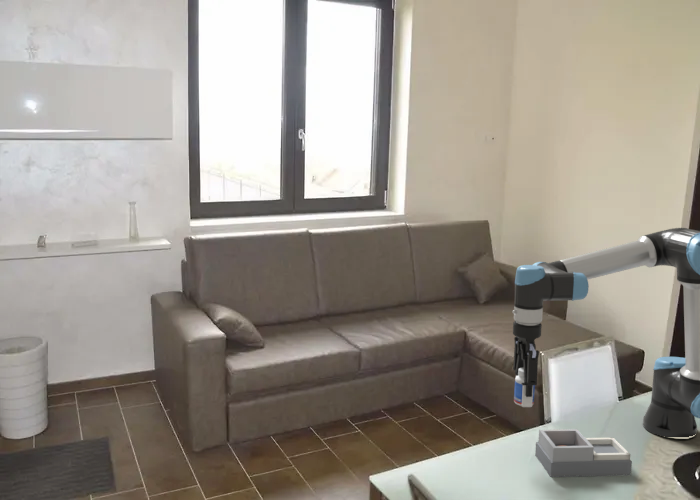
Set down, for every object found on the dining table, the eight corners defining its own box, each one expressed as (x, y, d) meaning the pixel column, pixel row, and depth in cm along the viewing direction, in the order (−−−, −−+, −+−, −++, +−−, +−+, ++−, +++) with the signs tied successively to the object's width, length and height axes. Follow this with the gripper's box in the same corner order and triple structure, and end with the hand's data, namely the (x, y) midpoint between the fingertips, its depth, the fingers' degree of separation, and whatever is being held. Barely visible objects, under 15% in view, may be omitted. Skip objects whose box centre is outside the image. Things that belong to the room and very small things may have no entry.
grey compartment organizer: (610, 453, 183) (612, 427, 181) (630, 475, 171) (633, 447, 169) (535, 455, 181) (536, 428, 180) (550, 476, 170) (552, 448, 168)
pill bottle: (523, 408, 174) (524, 374, 172) (509, 401, 179) (511, 368, 177) (538, 404, 176) (539, 371, 175) (524, 397, 181) (526, 365, 179)
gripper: (504, 313, 182) (500, 389, 186) (524, 331, 164) (520, 416, 168) (529, 312, 183) (525, 389, 187) (553, 331, 165) (548, 415, 168)
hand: (523, 401), depth 177 cm, fingers closed on pill bottle, 5 cm apart
